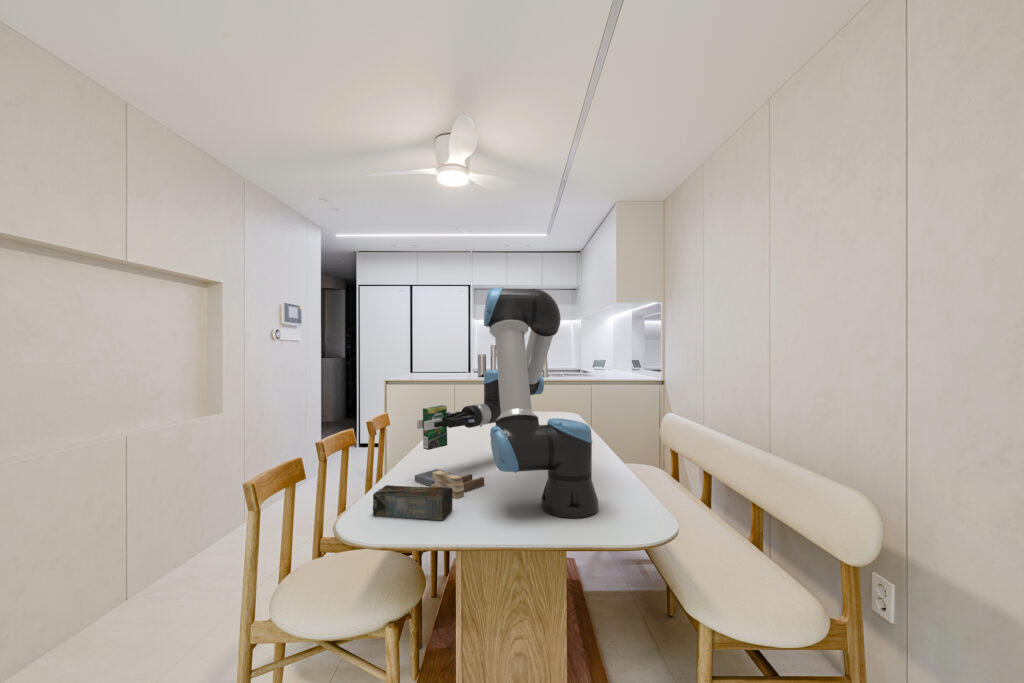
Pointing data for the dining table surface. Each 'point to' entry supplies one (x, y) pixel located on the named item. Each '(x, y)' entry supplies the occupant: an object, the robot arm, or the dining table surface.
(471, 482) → the walnut rack
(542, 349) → the robot arm
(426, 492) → the beverage carton
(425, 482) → the stand pad
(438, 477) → the offcut stack
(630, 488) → the dining table surface
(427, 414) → the coffee box
